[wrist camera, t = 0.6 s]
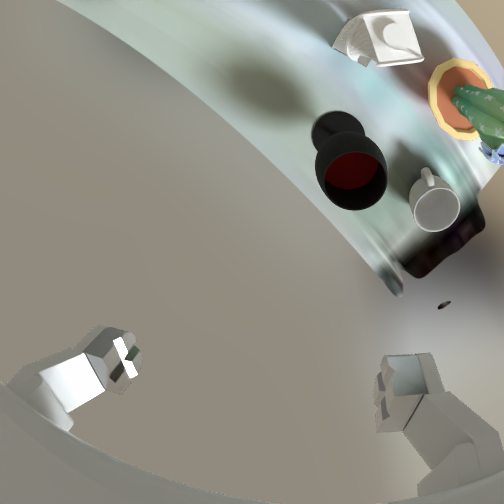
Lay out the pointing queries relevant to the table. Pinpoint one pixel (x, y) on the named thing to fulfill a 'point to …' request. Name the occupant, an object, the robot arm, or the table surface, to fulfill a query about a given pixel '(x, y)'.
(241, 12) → the table surface
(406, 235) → the table surface
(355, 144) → the wine glass
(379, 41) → the skyscraper
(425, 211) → the teacup
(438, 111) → the potted cactus
